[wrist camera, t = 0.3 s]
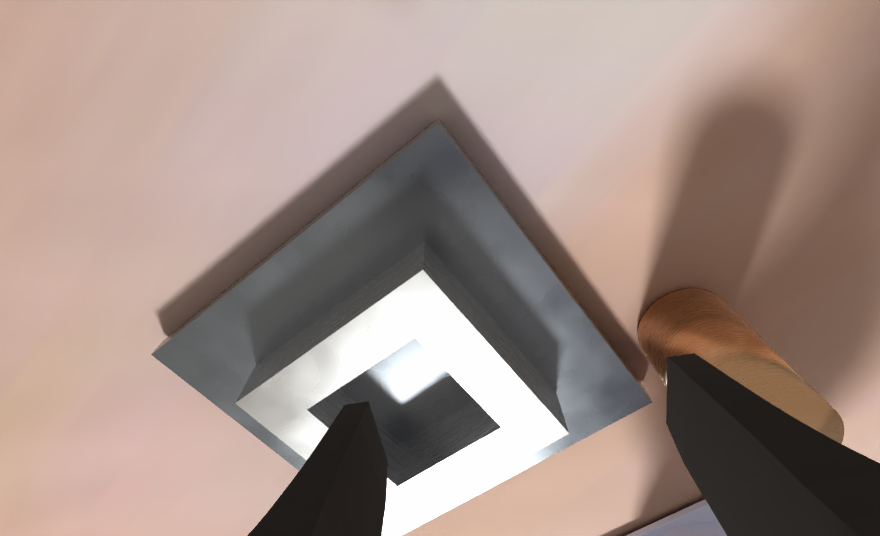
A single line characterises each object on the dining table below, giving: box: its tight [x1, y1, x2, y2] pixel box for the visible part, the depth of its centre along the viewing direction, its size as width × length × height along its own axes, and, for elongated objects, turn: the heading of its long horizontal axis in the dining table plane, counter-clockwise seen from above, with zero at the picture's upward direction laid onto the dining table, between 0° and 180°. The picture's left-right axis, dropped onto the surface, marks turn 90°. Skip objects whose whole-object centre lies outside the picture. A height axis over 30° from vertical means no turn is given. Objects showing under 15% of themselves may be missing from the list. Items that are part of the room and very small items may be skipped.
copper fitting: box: [638, 288, 844, 444], centre depth 19 cm, size 4×4×7 cm
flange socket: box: [151, 118, 652, 536], centre depth 22 cm, size 16×16×4 cm
